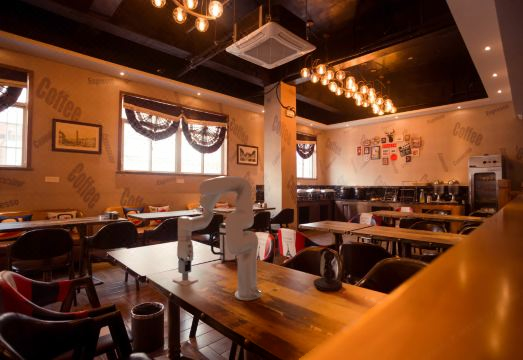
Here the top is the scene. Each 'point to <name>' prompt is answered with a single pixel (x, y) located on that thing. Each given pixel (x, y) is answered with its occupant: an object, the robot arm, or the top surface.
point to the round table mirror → (327, 272)
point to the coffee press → (223, 245)
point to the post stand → (185, 279)
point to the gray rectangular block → (182, 266)
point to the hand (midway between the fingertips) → (184, 269)
